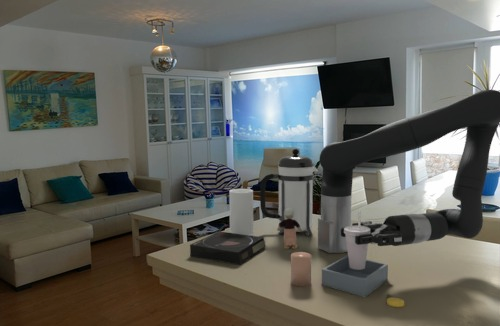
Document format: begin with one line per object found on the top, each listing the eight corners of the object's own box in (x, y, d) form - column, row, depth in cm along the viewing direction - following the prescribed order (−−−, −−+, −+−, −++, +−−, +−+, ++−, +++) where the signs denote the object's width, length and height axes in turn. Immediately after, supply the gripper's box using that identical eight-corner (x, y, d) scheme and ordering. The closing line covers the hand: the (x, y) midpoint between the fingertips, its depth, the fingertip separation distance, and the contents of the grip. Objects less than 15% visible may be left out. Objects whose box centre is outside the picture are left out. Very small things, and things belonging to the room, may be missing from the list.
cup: (229, 232, 149) (228, 188, 148) (252, 232, 150) (251, 188, 148) (230, 239, 141) (229, 192, 140) (254, 238, 142) (254, 192, 140)
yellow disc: (395, 308, 89) (395, 306, 89) (383, 302, 92) (383, 299, 92) (407, 305, 90) (408, 302, 90) (395, 299, 93) (395, 296, 93)
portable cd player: (240, 266, 116) (240, 252, 116) (190, 257, 124) (190, 244, 124) (265, 250, 131) (265, 237, 130) (219, 243, 139) (219, 231, 138)
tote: (365, 297, 95) (365, 280, 94) (321, 285, 102) (322, 269, 101) (387, 279, 105) (387, 264, 104) (346, 269, 112) (346, 255, 111)
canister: (297, 287, 100) (297, 259, 99) (287, 280, 105) (287, 253, 104) (315, 284, 102) (315, 256, 102) (304, 277, 107) (304, 250, 106)
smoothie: (371, 272, 99) (371, 214, 97) (344, 271, 100) (343, 214, 99) (369, 263, 105) (369, 208, 104) (343, 262, 106) (343, 208, 105)
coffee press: (295, 224, 161) (295, 146, 158) (325, 233, 148) (325, 148, 145) (259, 231, 151) (258, 148, 148) (287, 241, 138) (287, 151, 135)
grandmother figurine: (299, 245, 134) (300, 206, 133) (302, 248, 130) (302, 208, 129) (276, 245, 134) (276, 207, 132) (278, 249, 130) (277, 209, 128)
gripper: (390, 209, 112) (334, 214, 108) (426, 221, 99) (364, 228, 94) (389, 236, 113) (334, 243, 108) (426, 252, 99) (364, 260, 95)
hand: (348, 236), depth 101 cm, fingers closed on smoothie, 6 cm apart
